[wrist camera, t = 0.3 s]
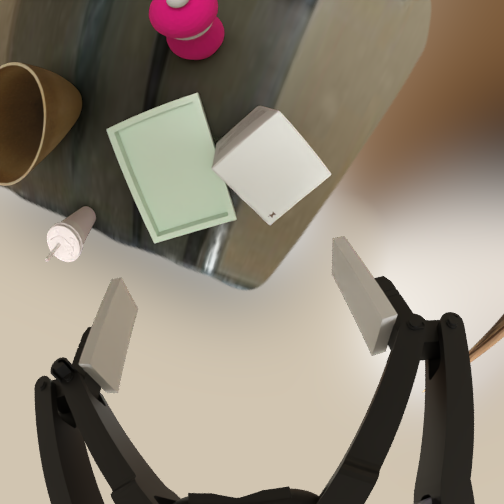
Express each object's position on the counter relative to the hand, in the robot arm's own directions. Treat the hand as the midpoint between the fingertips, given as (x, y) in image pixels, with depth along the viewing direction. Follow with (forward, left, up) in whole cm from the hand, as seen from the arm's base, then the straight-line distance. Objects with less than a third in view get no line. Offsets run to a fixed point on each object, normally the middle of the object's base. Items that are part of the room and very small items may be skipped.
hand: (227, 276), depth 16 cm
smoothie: (+1, -26, -28) cm, 38 cm away
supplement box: (-1, +5, -28) cm, 28 cm away
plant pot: (-18, -22, -28) cm, 40 cm away
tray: (-1, -8, -28) cm, 29 cm away
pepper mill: (-19, +1, -28) cm, 34 cm away
